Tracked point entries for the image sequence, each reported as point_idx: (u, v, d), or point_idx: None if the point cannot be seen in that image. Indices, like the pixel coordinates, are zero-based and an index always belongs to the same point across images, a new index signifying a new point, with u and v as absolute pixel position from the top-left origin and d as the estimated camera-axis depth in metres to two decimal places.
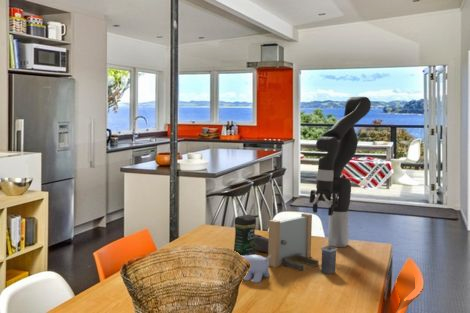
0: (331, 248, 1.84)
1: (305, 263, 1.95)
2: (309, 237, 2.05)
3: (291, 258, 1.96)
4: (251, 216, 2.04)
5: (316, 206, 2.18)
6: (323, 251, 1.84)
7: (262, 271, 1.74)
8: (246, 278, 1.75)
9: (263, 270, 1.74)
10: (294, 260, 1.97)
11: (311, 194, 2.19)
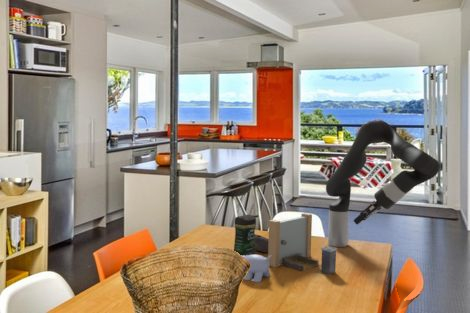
0: (331, 248, 1.84)
1: (305, 263, 1.95)
2: (309, 237, 2.05)
3: (291, 258, 1.96)
4: (251, 216, 2.04)
5: None
6: (323, 251, 1.84)
7: (262, 271, 1.74)
8: (246, 278, 1.75)
9: (263, 270, 1.74)
10: (294, 260, 1.97)
11: (372, 212, 1.68)
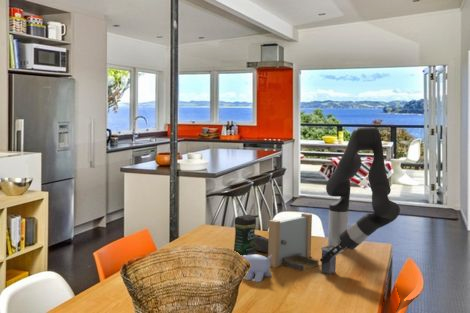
0: None
1: (305, 263, 1.95)
2: (309, 237, 2.05)
3: (291, 258, 1.96)
4: (251, 216, 2.04)
5: None
6: (323, 251, 1.84)
7: (263, 271, 1.74)
8: (247, 277, 1.75)
9: (264, 270, 1.74)
10: (294, 260, 1.97)
11: (335, 254, 1.77)
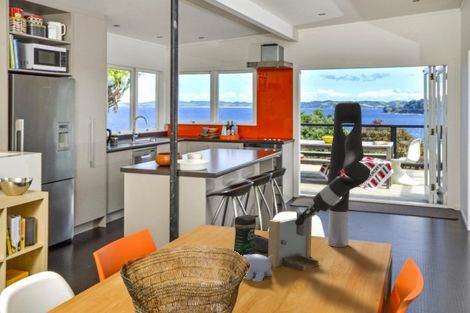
0: None
1: (305, 263, 1.95)
2: (309, 237, 2.05)
3: (291, 258, 1.96)
4: (251, 216, 2.04)
5: None
6: (298, 214, 1.91)
7: (264, 270, 1.74)
8: (248, 277, 1.76)
9: (264, 270, 1.74)
10: (294, 260, 1.97)
11: (308, 215, 1.84)
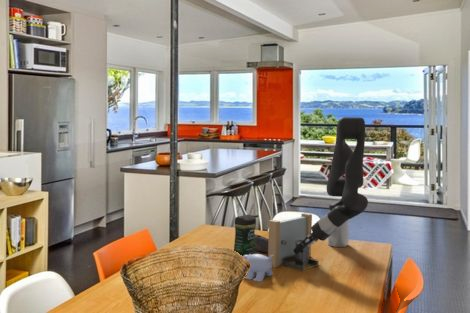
0: None
1: None
2: None
3: (291, 258, 1.96)
4: (251, 216, 2.04)
5: None
6: (297, 244, 1.92)
7: (264, 270, 1.75)
8: (248, 277, 1.76)
9: (265, 270, 1.75)
10: (294, 260, 1.97)
11: (307, 244, 1.85)
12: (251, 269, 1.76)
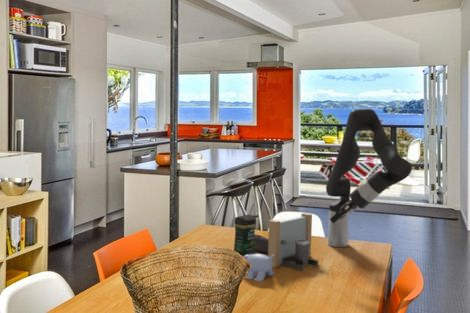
0: (304, 241, 1.92)
1: None
2: (309, 237, 2.05)
3: (291, 258, 1.96)
4: (251, 216, 2.04)
5: None
6: (297, 244, 1.92)
7: (265, 270, 1.75)
8: (249, 277, 1.76)
9: (265, 270, 1.75)
10: (294, 260, 1.97)
11: (347, 211, 1.75)
12: (252, 269, 1.76)
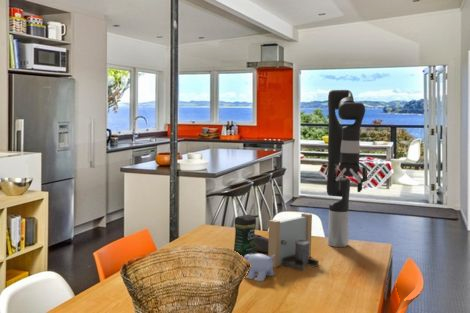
0: (304, 241, 1.92)
1: None
2: (309, 237, 2.05)
3: (291, 258, 1.96)
4: (251, 216, 2.04)
5: (339, 182, 1.91)
6: (297, 244, 1.92)
7: (265, 270, 1.75)
8: (250, 276, 1.76)
9: (266, 269, 1.75)
10: (294, 260, 1.97)
11: (333, 169, 1.91)
12: (252, 269, 1.77)
